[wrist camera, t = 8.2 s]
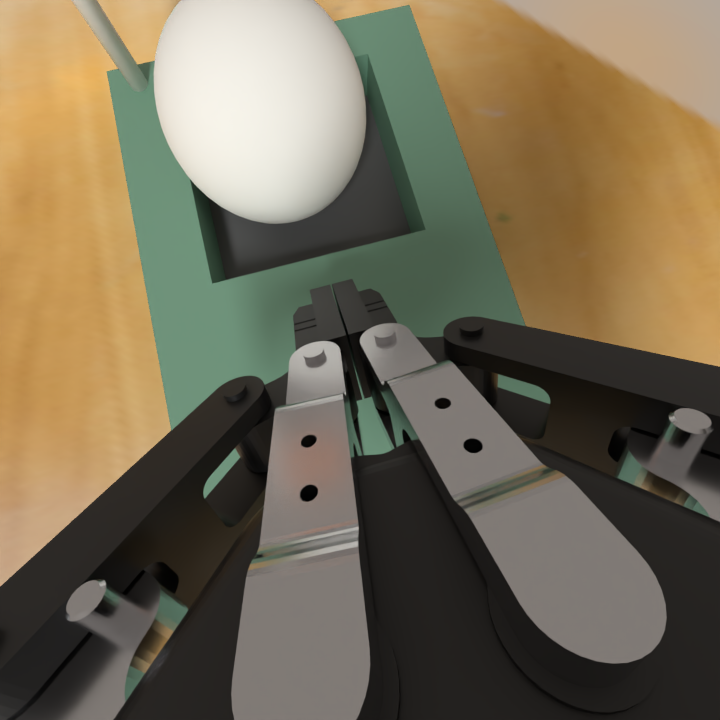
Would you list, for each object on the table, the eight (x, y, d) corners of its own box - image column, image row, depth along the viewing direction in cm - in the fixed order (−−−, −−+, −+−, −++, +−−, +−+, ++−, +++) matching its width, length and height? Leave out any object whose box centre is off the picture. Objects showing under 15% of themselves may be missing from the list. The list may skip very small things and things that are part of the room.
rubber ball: (392, -60, 9) (400, 228, 15) (318, -38, 15) (346, 168, 20) (71, -10, 8) (214, 279, 14) (118, -6, 13) (208, 203, 19)
